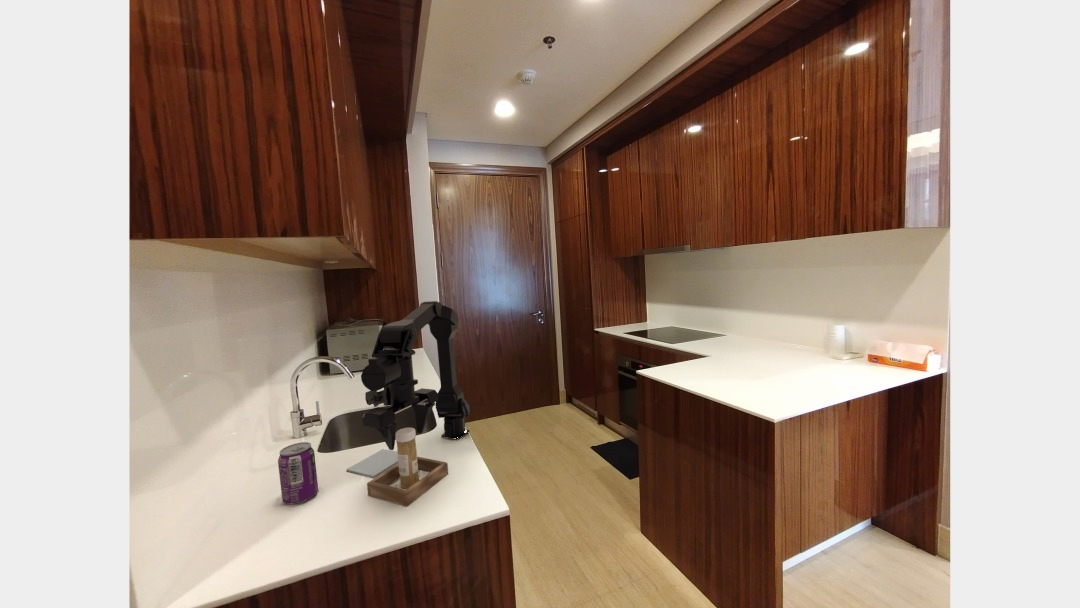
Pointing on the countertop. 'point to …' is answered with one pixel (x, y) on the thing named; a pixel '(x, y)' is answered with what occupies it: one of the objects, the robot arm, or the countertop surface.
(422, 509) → the countertop surface
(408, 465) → the sprinkles bottle
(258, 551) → the countertop surface
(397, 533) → the countertop surface
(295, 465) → the beverage can
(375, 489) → the wooden frame
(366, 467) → the mat
